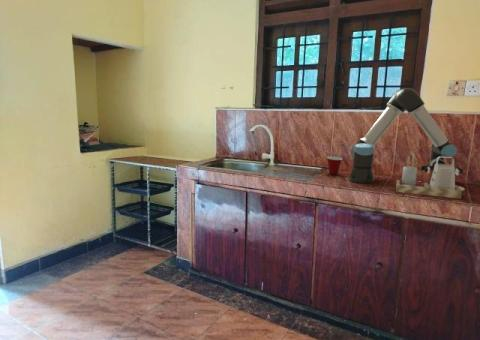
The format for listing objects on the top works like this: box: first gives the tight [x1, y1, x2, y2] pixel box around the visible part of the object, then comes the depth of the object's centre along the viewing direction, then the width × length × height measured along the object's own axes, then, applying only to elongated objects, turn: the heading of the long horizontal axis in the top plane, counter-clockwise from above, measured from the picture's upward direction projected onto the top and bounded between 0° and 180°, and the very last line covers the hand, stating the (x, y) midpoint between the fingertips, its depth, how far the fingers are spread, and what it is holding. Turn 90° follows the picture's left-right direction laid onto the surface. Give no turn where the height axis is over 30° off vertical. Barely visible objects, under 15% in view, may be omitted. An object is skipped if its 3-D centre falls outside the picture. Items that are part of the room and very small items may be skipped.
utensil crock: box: [400, 153, 418, 186], centre depth 171 cm, size 7×7×20 cm
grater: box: [428, 157, 456, 190], centre depth 164 cm, size 10×10×20 cm
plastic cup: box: [326, 155, 343, 175], centre depth 216 cm, size 11×11×12 cm
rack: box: [395, 179, 463, 200], centre depth 168 cm, size 30×14×4 cm, turn 63°
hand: (443, 172), depth 169 cm, fingers open, 13 cm apart
